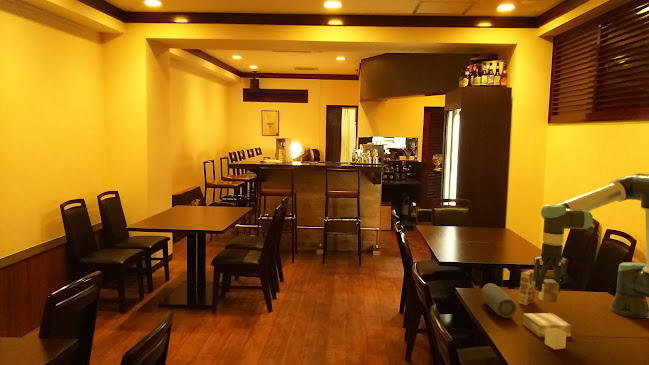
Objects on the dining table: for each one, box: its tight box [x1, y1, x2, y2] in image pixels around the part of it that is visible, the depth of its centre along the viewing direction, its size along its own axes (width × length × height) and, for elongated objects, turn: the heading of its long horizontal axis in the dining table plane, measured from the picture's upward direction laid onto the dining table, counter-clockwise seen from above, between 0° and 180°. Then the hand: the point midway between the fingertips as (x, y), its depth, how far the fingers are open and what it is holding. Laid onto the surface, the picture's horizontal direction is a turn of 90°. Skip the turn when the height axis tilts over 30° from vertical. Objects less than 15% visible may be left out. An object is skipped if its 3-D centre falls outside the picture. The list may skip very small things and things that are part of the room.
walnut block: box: [542, 278, 559, 303], centre depth 195 cm, size 5×5×8 cm
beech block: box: [522, 312, 572, 338], centre depth 197 cm, size 13×13×5 cm
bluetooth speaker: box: [480, 282, 518, 319], centre depth 217 cm, size 23×9×10 cm, turn 179°
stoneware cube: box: [544, 328, 567, 350], centre depth 182 cm, size 5×5×6 cm
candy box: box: [518, 269, 537, 306], centre depth 229 cm, size 9×4×15 cm, turn 134°
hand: (547, 299), depth 196 cm, fingers closed on walnut block, 5 cm apart
